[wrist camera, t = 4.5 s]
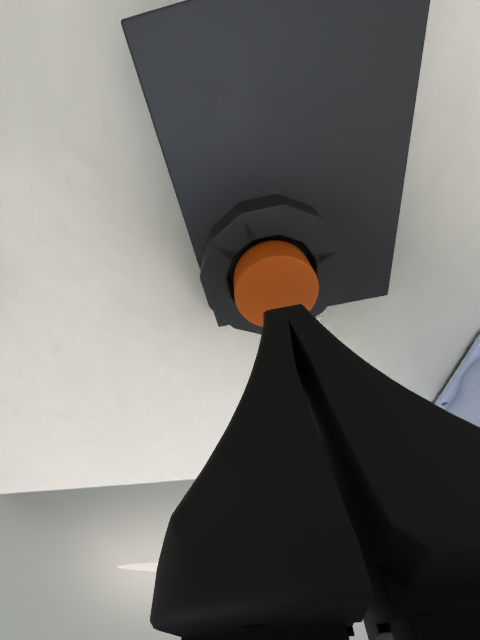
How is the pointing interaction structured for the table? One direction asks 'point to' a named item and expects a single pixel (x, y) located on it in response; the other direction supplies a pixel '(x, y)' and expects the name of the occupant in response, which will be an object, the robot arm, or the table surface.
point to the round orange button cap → (273, 280)
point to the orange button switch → (285, 131)
